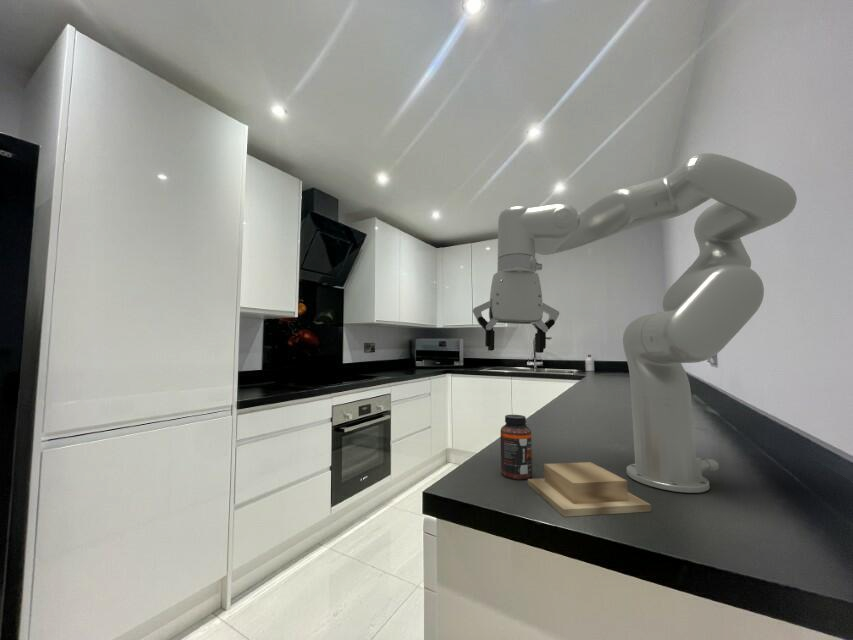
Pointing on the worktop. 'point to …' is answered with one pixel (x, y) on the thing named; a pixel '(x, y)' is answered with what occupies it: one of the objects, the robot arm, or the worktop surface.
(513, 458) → the supplement bottle
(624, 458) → the worktop surface
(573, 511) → the oak base
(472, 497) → the worktop surface
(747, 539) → the worktop surface
